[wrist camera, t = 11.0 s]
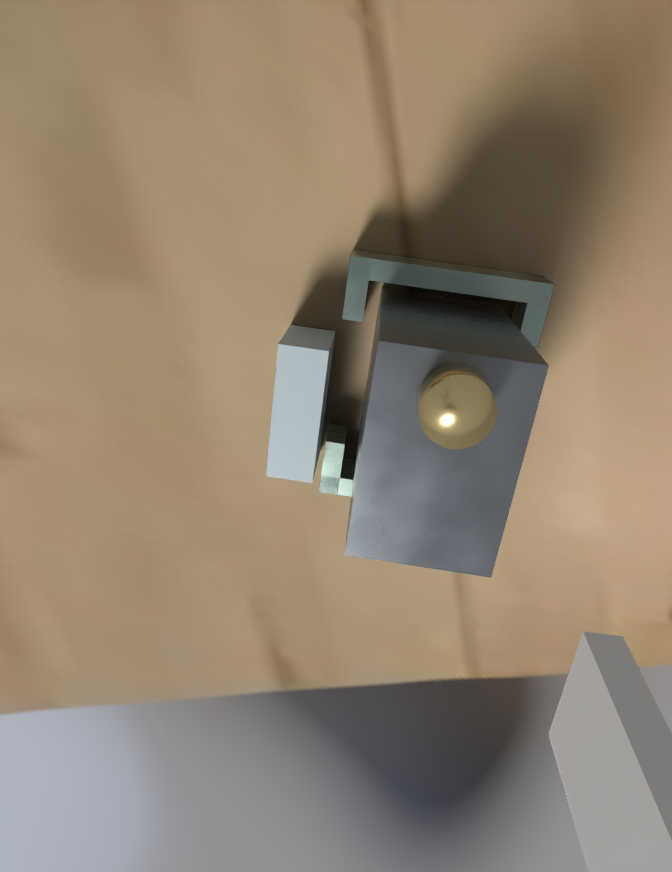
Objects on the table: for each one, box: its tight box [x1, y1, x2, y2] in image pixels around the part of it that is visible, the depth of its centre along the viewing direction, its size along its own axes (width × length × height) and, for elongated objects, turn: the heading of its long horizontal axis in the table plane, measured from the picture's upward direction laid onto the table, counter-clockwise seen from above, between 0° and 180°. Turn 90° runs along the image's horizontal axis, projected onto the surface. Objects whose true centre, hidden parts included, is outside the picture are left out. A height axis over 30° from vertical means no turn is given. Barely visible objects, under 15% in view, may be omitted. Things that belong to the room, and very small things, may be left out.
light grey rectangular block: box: [266, 325, 336, 483], centre depth 33 cm, size 7×2×4 cm, turn 173°
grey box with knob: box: [345, 287, 549, 577], centre depth 28 cm, size 9×6×13 cm, turn 173°
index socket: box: [319, 249, 554, 496], centre depth 33 cm, size 12×10×2 cm
